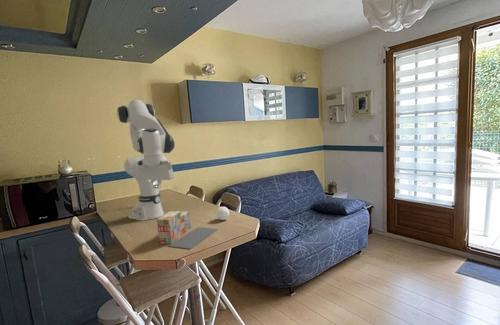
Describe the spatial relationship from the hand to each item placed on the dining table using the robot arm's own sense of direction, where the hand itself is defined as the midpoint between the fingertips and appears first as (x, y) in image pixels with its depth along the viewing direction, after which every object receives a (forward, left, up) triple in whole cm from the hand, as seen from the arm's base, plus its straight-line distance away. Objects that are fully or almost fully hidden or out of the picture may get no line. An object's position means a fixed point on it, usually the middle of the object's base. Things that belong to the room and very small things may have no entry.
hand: (157, 188), depth 136 cm
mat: (+20, 0, -24) cm, 31 cm away
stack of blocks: (+9, 0, -24) cm, 26 cm away
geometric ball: (+21, +27, -24) cm, 42 cm away
